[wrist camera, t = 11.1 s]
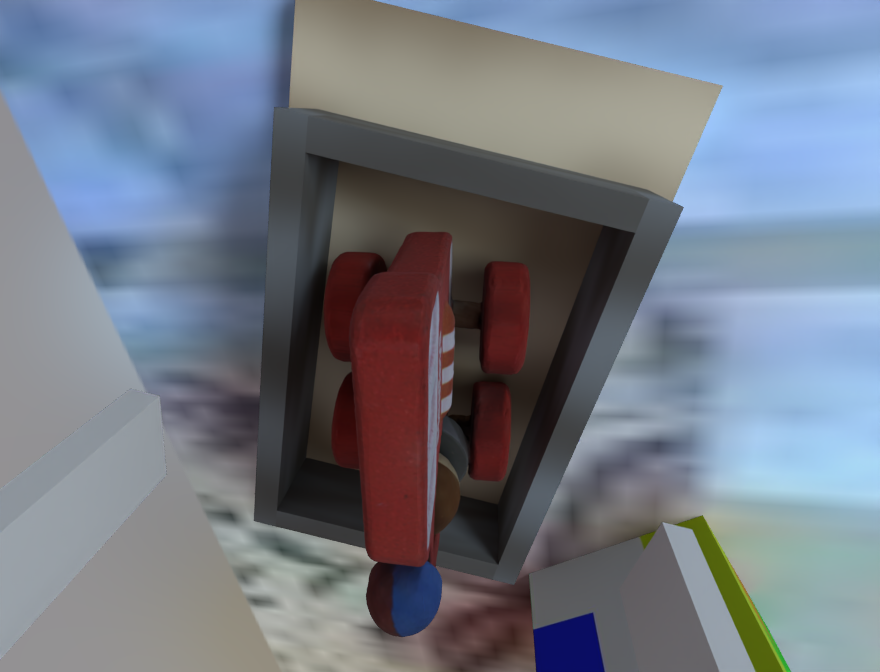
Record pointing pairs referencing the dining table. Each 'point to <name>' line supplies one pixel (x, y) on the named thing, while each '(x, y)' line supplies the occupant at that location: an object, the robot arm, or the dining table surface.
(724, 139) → the dining table surface
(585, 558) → the puzzle toy
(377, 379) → the toy fire truck
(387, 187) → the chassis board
